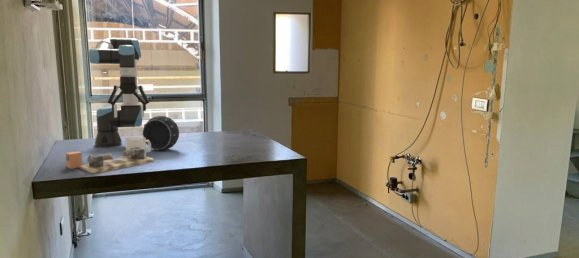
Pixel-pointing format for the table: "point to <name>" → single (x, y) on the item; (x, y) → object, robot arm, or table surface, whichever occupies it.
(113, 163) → the shaft bench
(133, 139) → the mug
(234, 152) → the table surface
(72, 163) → the coupler
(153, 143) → the black drum
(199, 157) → the table surface
